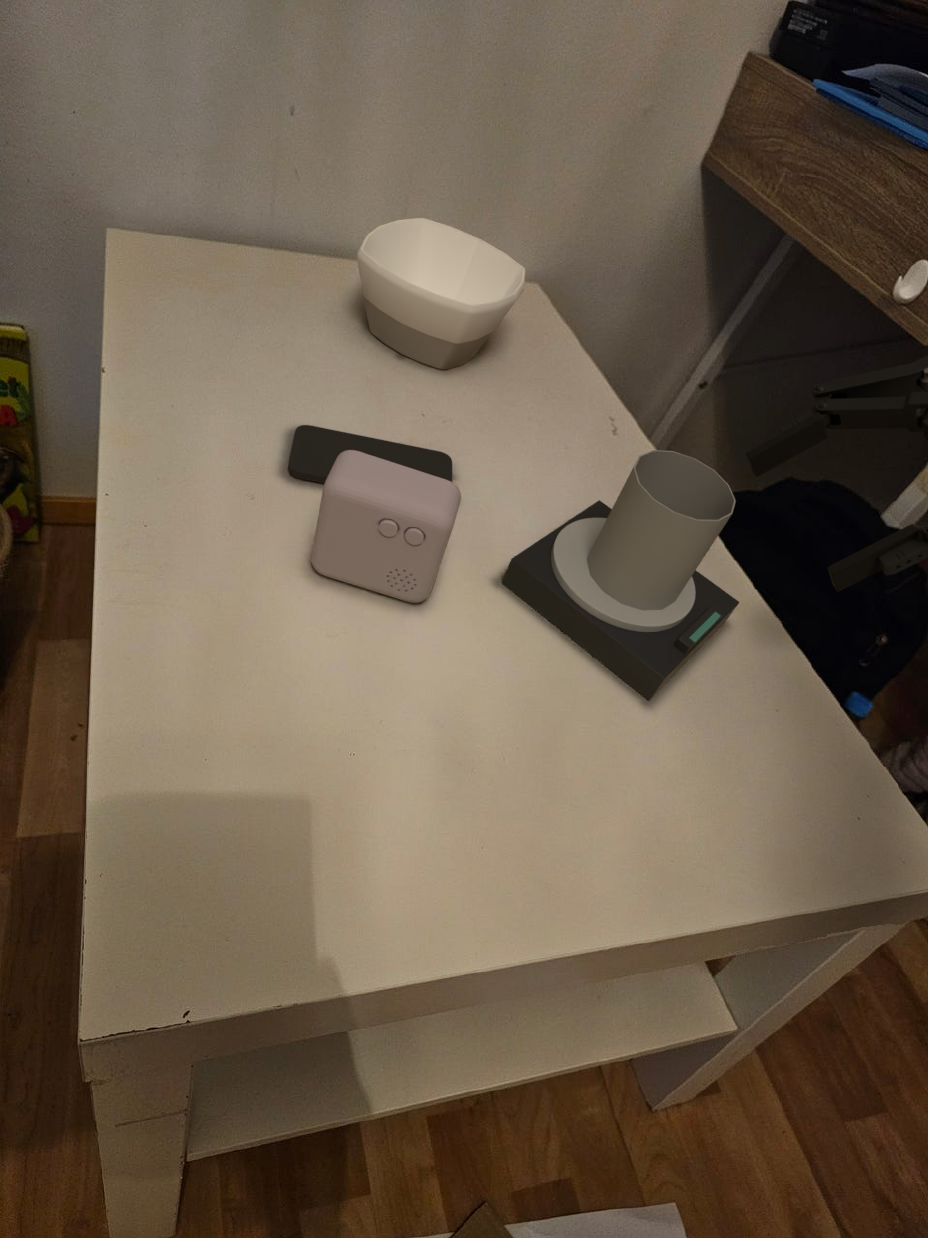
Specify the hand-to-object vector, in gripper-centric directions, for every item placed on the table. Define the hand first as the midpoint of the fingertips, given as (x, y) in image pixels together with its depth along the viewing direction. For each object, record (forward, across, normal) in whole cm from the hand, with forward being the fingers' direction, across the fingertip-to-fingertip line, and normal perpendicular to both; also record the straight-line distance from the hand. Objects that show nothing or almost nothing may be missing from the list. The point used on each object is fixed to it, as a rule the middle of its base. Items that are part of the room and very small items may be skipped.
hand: (788, 519), depth 67 cm
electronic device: (+31, +5, +13) cm, 34 cm away
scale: (+16, +2, -2) cm, 16 cm away
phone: (+29, +19, +12) cm, 37 cm away
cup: (+13, +2, 0) cm, 13 cm away
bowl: (+22, +44, +4) cm, 49 cm away
